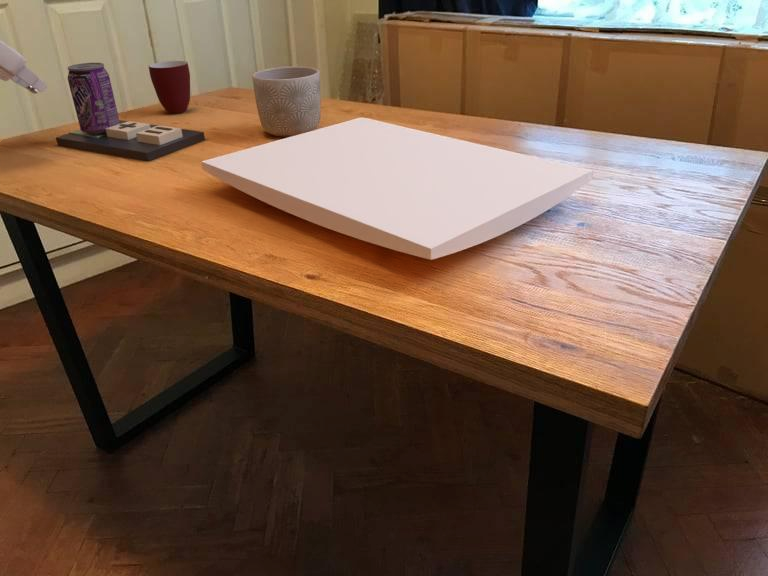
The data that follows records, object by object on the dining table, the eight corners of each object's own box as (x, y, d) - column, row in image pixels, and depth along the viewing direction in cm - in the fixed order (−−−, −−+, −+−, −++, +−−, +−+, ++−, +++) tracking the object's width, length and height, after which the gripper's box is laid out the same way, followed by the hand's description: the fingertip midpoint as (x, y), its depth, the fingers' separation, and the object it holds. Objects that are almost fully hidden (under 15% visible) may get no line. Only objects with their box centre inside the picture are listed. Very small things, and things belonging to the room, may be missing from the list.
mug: (161, 106, 149) (152, 60, 144) (198, 103, 150) (190, 57, 145) (155, 117, 140) (145, 69, 135) (194, 114, 141) (186, 66, 136)
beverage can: (76, 131, 126) (59, 66, 120) (114, 124, 129) (99, 60, 124) (88, 138, 121) (71, 71, 115) (126, 131, 124) (111, 65, 119)
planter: (272, 122, 133) (266, 66, 128) (331, 123, 131) (327, 66, 125) (249, 139, 123) (241, 79, 117) (313, 141, 120) (307, 80, 115)
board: (589, 203, 90) (593, 170, 87) (430, 288, 70) (431, 248, 68) (363, 143, 118) (361, 117, 116) (206, 191, 99) (201, 161, 96)
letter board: (57, 145, 124) (52, 128, 122) (117, 126, 134) (113, 110, 133) (148, 161, 113) (144, 142, 112) (205, 139, 124) (202, 122, 122)
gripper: (-24, 10, 101) (60, 72, 108) (-28, 25, 117) (45, 78, 125) (-50, 42, 100) (37, 103, 108) (-50, 53, 116) (25, 105, 124)
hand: (41, 90), depth 117 cm, fingers open, 8 cm apart
